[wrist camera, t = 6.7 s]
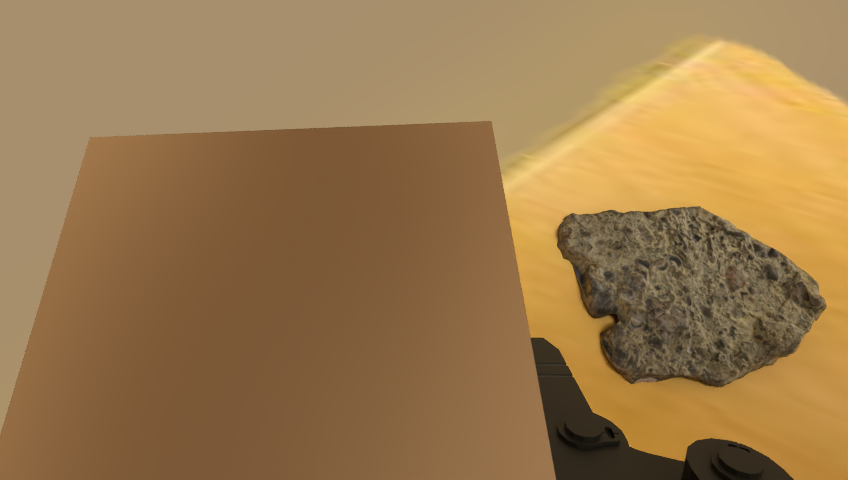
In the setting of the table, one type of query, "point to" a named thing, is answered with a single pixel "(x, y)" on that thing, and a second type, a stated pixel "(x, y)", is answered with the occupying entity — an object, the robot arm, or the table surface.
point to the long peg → (283, 314)
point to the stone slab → (687, 294)
